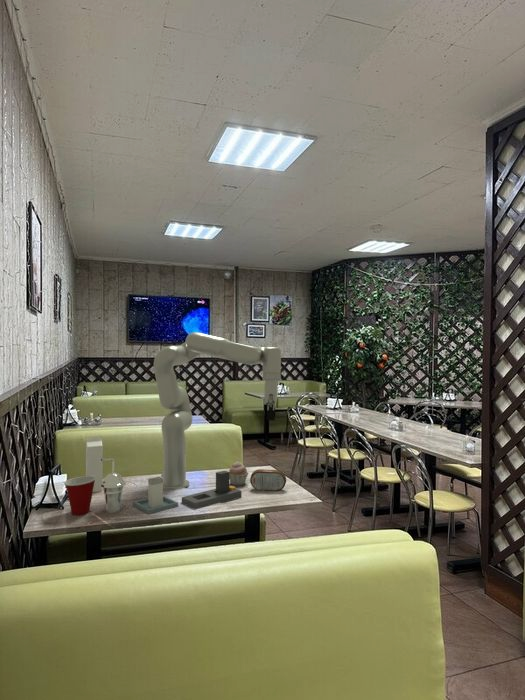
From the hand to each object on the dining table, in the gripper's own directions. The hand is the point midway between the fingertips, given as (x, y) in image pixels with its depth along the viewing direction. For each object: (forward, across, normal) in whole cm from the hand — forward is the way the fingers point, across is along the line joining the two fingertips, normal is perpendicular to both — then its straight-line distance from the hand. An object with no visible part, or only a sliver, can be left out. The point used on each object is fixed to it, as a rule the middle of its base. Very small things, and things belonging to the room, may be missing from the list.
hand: (271, 418), depth 186 cm
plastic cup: (+31, +28, -67) cm, 79 cm away
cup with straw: (+31, +27, -56) cm, 69 cm away
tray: (+31, +21, -42) cm, 56 cm away
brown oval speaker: (+31, -2, -1) cm, 31 cm away
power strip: (+30, +12, -22) cm, 40 cm away
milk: (+31, +3, -73) cm, 79 cm away
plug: (+30, +21, -42) cm, 56 cm away
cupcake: (+31, -10, -14) cm, 35 cm away
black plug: (+30, +9, -19) cm, 37 cm away
